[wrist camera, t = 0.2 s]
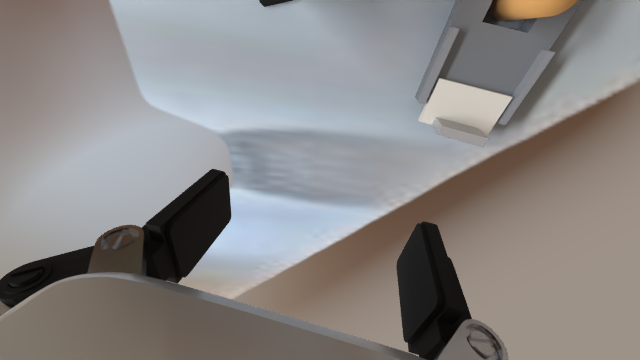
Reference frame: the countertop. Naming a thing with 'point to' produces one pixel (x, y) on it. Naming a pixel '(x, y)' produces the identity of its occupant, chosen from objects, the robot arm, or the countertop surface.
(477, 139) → the lid
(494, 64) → the housing
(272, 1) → the green twisted sculpture
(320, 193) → the countertop surface
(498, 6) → the orange rounded capsule
